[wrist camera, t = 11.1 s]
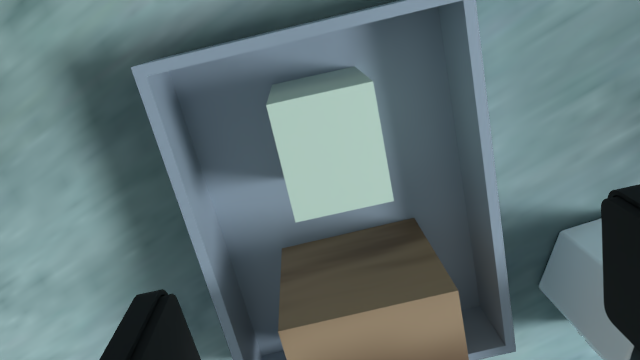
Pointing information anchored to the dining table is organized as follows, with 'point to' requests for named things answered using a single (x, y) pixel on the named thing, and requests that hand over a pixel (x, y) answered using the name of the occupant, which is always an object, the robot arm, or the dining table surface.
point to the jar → (584, 290)
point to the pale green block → (330, 143)
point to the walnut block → (369, 298)
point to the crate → (400, 146)
